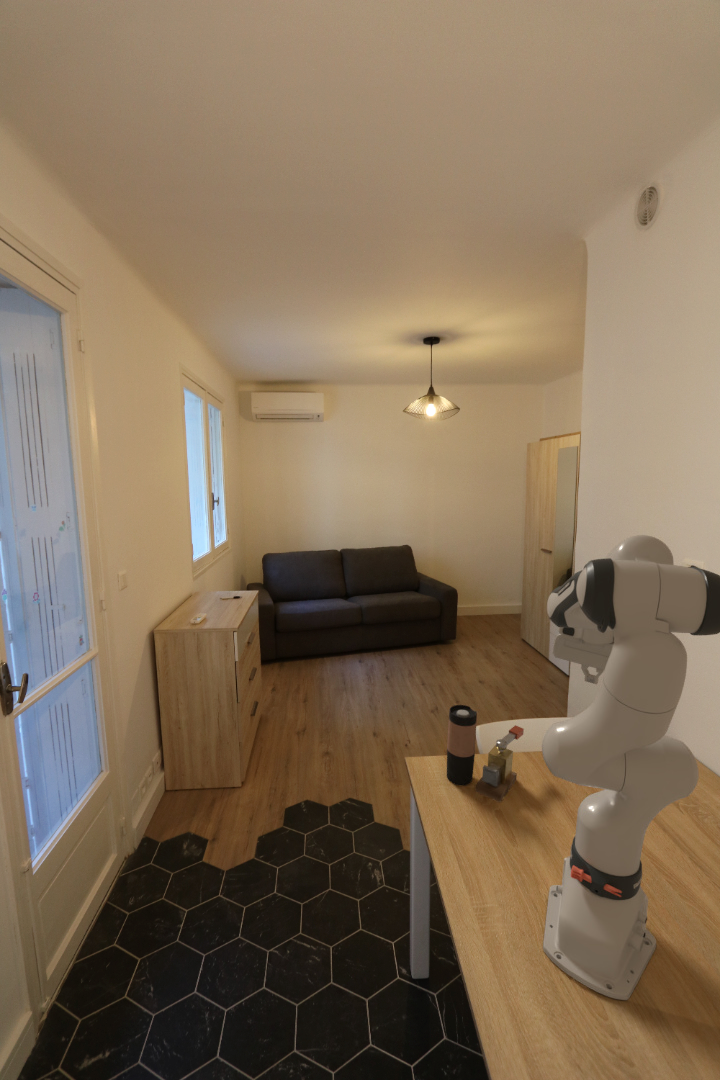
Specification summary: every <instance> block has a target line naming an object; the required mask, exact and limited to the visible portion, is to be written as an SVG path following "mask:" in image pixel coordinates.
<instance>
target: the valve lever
mask: <svg viewBox="0 0 720 1080" xmlns="http://www.w3.org/2000/svg"><path fill="white" fill-rule="evenodd" d="M524 730H525V728H523V727H521V726H518V725H514V726H512V727H511V728H510V729H509V730H508V733H507V734H506V735H504V736H503V737H502V739H496V741H495V745H496V747H497V748H498V749H500V750H505V749H508V748H507V746H508V745H509V744H510V743H512V742H513V741H514V740H517V741H518V740H519V739H520V738H521V737H522V736H523V735H524Z"/></svg>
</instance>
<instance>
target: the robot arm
mask: <svg viewBox="0 0 720 1080" xmlns="http://www.w3.org/2000/svg"><path fill="white" fill-rule="evenodd" d="M546 613H547V616H548V619H549V620H550V621H551V622H552V623H553V624H554V625H555V626H556V627H557V628H558V634H557V635H556V636H555V637H554V642H553V646H552V654H553V657H554V658H556V659H559V660H564V661H567V662H571V663H574V664H578V665H580V669H581V671H582V673H583V675H584V682H586V683H587V682H588V683H591V684H594V685H598V683H599V677H601V675H602V677H601V678H602V679H601V681H600V685H599V688H598V689H597V693H596V695H595V698H594V700H593V701H592V702H591V704H590V705H588V707H587V708H585V709H584V710H583V711H582V712H580V713H578V714H576V715H574V716H573V717H570V718H568V719H565V720H562V721H558V722H554V723H552V724H551V725H550V726H549V727H548V728H547V730H546V731H545V733H544V735H543V737H542V742H541V753H542V758H543V761H544V763H545V765H546V767H547V768H548V770H549V771H550V773H551V774H552V775H553V776H554V777H557V778H559V779H561V780H564V781H567V782H568V783H569V782H570V783H571V784H576V785H578V786H580V787H582V786H583V787H588V788H589V787H590V788H595V789H602V790H599V791H597V792H595V793H591V794H589V795H588V796H586V797H585V798H584V799H583V800H581V803H580V804H579V806H578V808H577V813H576V814H577V816H576V826H575V827H576V828H575V836H574V837H572V844H571V846H570V852H569V853H570V855H569V856H567V857H565V858H563V866H562V867H563V868H562V880H561V885H560V884H553V885H551V886H550V887H549V890H548V896H547V897H548V899H547V908H546V913H545V914H546V915H545V924H544V932H543V942H542V949H543V952H544V953H545V955H546V956H547V957H548V959H550V960H551V962H552V963H553V964H555V966H557V967H558V968H559V969H560V970H562V971H563V972H564V973H565V974H566V975H568V976H569V977H571V978H572V979H574V980H575V981H577V982H579V983H580V984H581V985H584V986H585V987H587V988H589V989H591V990H593V991H595V992H596V993H599V994H601V995H603V996H605V997H609V998H611V999H615V1000H619V1001H621V1000H622V1001H627V1000H629V999H630V997H631V995H632V994H633V993H634V990H635V989H636V987H637V985H638V983H639V981H640V979H641V977H642V975H643V973H644V971H645V970H646V967H647V965H648V963H649V962H650V960H651V958H652V957H653V954H654V952H655V950H656V949H657V940H656V937H655V936H654V935H653V933H651V931H650V930H649V929H648V928H647V921H648V906H649V897H648V896H647V894H646V893H645V891H644V890H643V888H642V886H641V884H642V878H643V863H642V860H641V857H642V851H643V846H644V840H645V836H646V833H647V829H648V828H649V826H650V824H651V822H652V821H653V820H654V819H655V817H656V816H657V815H658V814H659V813H661V812H662V810H664V809H666V807H669V805H671V804H672V803H674V802H677V801H679V800H681V799H685V798H688V797H689V796H690V795H691V794H692V793H693V792H694V791H695V789H696V787H697V786H698V781H699V774H700V773H699V766H698V762H697V759H696V757H695V755H694V754H693V752H692V750H690V747H688V746H687V745H686V744H685V742H683V741H682V740H679V739H676V738H674V737H670V736H667V735H666V734H667V732H668V730H669V727H670V725H671V723H672V719H673V717H674V714H675V712H676V710H677V707H678V704H679V702H680V699H681V696H682V693H683V690H684V687H685V686H684V685H685V680H686V677H687V668H688V654H687V650H686V647H685V645H684V644H683V643H682V640H680V638H678V637H677V636H676V635H675V634H674V633H677V634H678V633H679V634H680V633H681V634H690V635H692V636H712V635H718V634H720V575H719V574H717V573H714V572H713V571H709V570H706V569H703V568H700V567H698V566H695V565H694V564H692V565H691V566H683V565H678V564H677V565H676V564H675V563H674V556H673V553H672V551H671V549H670V548H669V546H668V545H667V544H666V543H664V542H663V541H662V540H661V539H659V538H657V537H655V536H652V535H651V536H650V535H645V534H644V535H643V534H639V535H632V536H630V537H627V538H626V539H624V540H622V541H620V542H619V543H618V544H617V545H615V547H614V548H613V549H611V550H610V552H609V553H608V554H607V555H606V557H605V558H598V559H591V560H588V562H587V563H586V564H585V565H584V567H583V569H581V570H580V571H576V572H575V573H574V574H573V575H571V576H570V578H569V579H567V580H566V581H565V582H564V583H563V584H562V585H561V586H560V585H559V586H557V587H556V588H554V589H553V590H552V591H551V592H550V594H549V595H548V599H547V604H546ZM589 668H594V669H595V672H596V673H597V674H596V675H595V674H592V673H591V674H590V671H589Z"/></svg>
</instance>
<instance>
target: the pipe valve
mask: <svg viewBox="0 0 720 1080" xmlns="http://www.w3.org/2000/svg"><path fill="white" fill-rule="evenodd" d="M513 755H514V751H513V750H511V749H508V748H506V749H505V750H500V749H498V748H497V747H496V744H495V745H494V746H493V747H492V748H491V749H490V751H489V752H488V756H487V765H486V764H484V765H483V766H482V776H483V777H481V778H482V781H485V782H486V784H489V785H491V786H493V787H496V788H498V786H499V785H500V783H501V782H502V783H504V784H505V782H506V781H507V780H508V778H509V777H510V776H511V773H512V772H513V771H512V770H513V757H514V756H513Z"/></svg>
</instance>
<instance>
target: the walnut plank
mask: <svg viewBox="0 0 720 1080" xmlns="http://www.w3.org/2000/svg"><path fill="white" fill-rule="evenodd" d="M517 774H518V773H516V772H515V771H512V773H511V776H510V777H509V778H508V780H507V781H506V782H505V784H504V783H502V782H501V783H500V785H499V786H498V788H496V787H493V786H491V785H489V784H486V782H485V781H482V777H483V775H482V777H480V779H479V780H478V781H477V783H476V784H475V789H474V791H475V793H477V794H480V795H483V796H485V797H486V798H489V799H491V800H493V801H495V802H498V803H501V802H502V801H503V799H504V798H505V797H506V796H507V794H508V793H509V791H510V789H511V788H512V787H513V785H514V783H515V782H516V781H517Z"/></svg>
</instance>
